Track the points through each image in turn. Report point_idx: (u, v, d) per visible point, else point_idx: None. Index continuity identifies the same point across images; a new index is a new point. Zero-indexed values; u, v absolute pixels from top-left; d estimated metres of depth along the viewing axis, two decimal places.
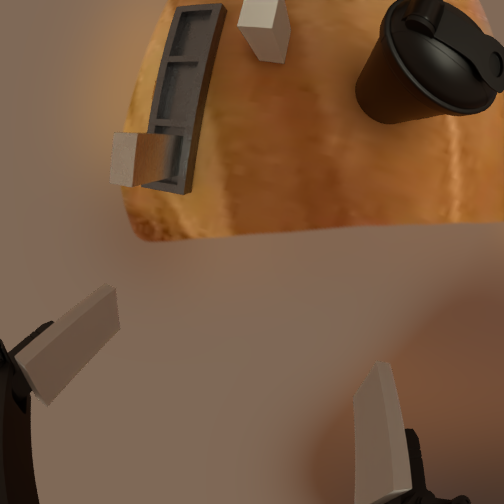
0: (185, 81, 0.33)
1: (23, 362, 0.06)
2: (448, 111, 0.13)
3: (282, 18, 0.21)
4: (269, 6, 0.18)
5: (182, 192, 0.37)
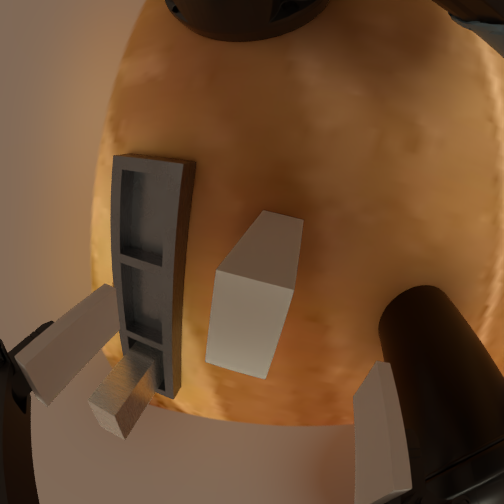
0: (151, 284, 0.28)
1: (23, 362, 0.06)
2: None
3: None
4: (263, 338, 0.13)
5: (172, 397, 0.32)
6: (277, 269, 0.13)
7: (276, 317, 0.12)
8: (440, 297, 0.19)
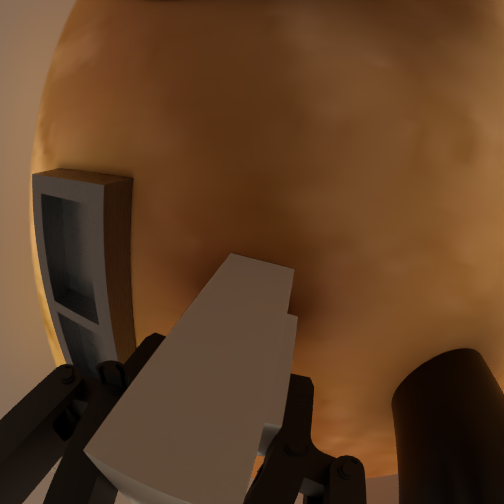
0: (98, 336, 0.19)
1: None
2: None
3: None
4: None
5: None
6: (214, 449, 0.05)
7: None
8: (478, 370, 0.11)
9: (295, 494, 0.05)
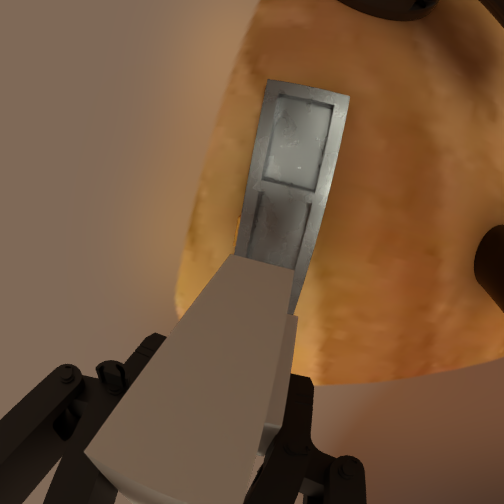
0: (282, 220, 0.27)
1: None
2: None
3: None
4: None
5: None
6: (214, 451, 0.05)
7: None
8: None
9: (295, 494, 0.05)
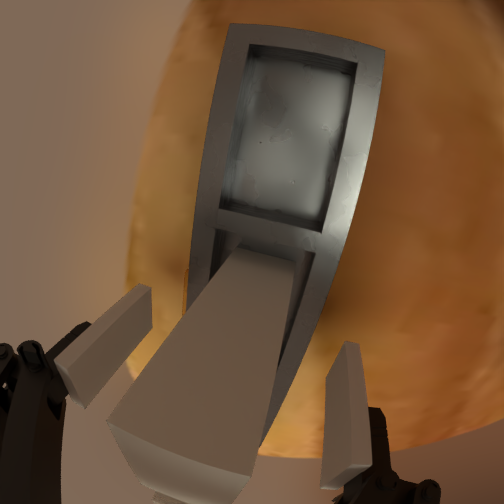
0: None
1: (65, 365, 0.07)
2: None
3: None
4: (210, 495, 0.05)
5: None
6: (227, 415, 0.06)
7: (225, 488, 0.05)
8: None
9: None
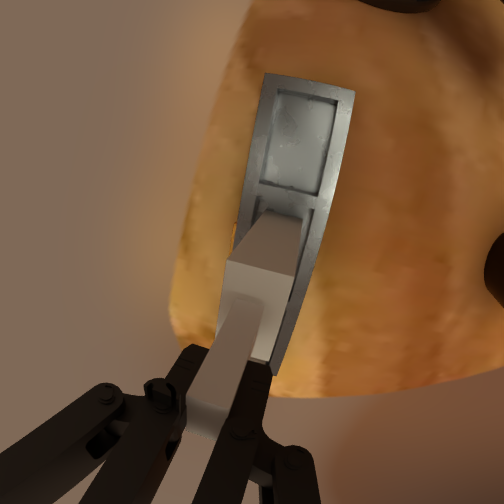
0: None
1: (203, 398, 0.08)
2: None
3: None
4: (267, 322, 0.15)
5: (275, 374, 0.29)
6: (279, 260, 0.15)
7: (279, 301, 0.14)
8: None
9: (245, 479, 0.05)
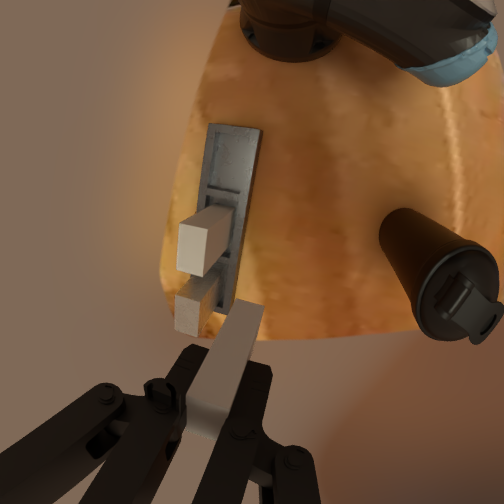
0: None
1: (203, 398, 0.08)
2: None
3: (217, 237, 0.34)
4: (198, 253, 0.31)
5: (227, 313, 0.45)
6: (204, 224, 0.31)
7: (202, 242, 0.30)
8: (415, 211, 0.33)
9: (245, 479, 0.05)
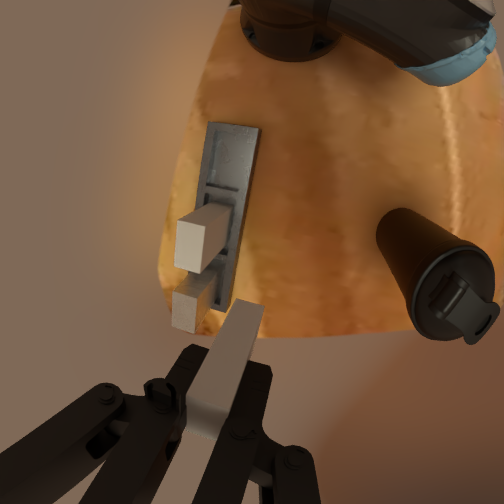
0: None
1: (203, 398, 0.08)
2: None
3: (214, 234, 0.35)
4: (196, 250, 0.31)
5: (224, 311, 0.46)
6: (202, 221, 0.31)
7: (200, 239, 0.31)
8: (412, 211, 0.34)
9: (245, 479, 0.05)
